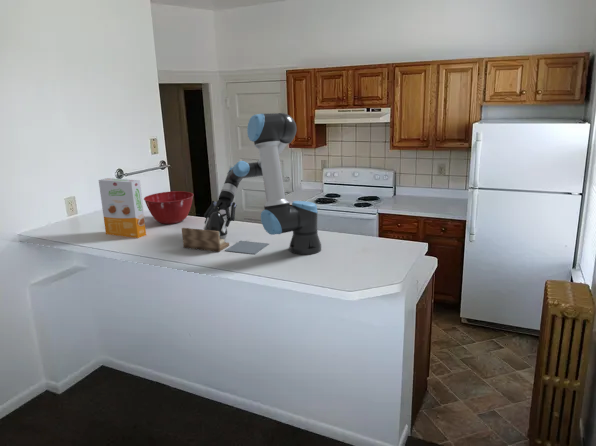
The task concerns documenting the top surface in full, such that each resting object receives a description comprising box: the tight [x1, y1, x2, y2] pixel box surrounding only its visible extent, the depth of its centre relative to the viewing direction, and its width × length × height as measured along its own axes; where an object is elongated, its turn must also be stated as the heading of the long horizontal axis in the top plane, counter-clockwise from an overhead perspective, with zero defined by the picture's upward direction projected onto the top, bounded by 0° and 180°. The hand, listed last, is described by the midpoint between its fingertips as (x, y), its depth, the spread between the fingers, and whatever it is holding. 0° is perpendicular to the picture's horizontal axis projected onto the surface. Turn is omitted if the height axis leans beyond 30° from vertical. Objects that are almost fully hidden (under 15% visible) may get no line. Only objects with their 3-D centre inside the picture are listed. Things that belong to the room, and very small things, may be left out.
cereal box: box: [98, 177, 147, 239], centre depth 248 cm, size 22×6×30 cm, turn 66°
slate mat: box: [224, 240, 270, 255], centre depth 226 cm, size 16×16×1 cm
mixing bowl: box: [143, 190, 194, 225], centre depth 275 cm, size 28×28×16 cm
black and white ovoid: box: [207, 211, 228, 240], centre depth 236 cm, size 10×10×15 cm
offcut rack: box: [181, 227, 230, 253], centre depth 227 cm, size 20×10×10 cm, turn 69°
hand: (214, 230), depth 234 cm, fingers closed on black and white ovoid, 10 cm apart
